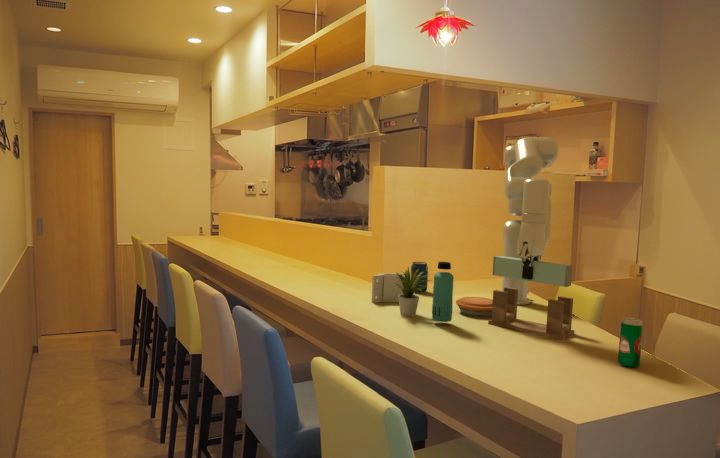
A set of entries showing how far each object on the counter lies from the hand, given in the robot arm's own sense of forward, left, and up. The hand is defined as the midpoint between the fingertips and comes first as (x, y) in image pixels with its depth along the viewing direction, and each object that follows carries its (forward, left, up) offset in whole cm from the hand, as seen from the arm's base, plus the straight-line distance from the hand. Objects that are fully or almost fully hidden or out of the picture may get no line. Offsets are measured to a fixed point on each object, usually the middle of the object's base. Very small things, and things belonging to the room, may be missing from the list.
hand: (530, 277), depth 171 cm
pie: (-8, -22, -17) cm, 29 cm away
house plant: (+14, -36, -17) cm, 42 cm away
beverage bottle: (+15, -22, -17) cm, 31 cm away
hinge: (+2, -54, -17) cm, 56 cm away
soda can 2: (+13, +33, -17) cm, 39 cm away
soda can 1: (-22, -57, -17) cm, 63 cm away
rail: (0, 0, -1) cm, 1 cm away
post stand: (-2, 0, -16) cm, 17 cm away
